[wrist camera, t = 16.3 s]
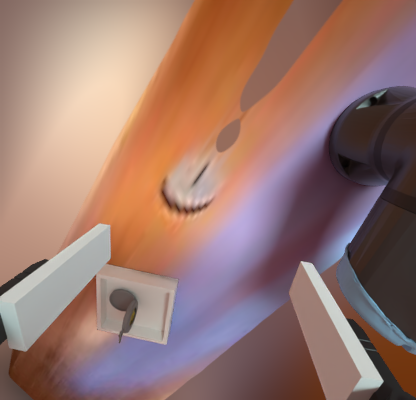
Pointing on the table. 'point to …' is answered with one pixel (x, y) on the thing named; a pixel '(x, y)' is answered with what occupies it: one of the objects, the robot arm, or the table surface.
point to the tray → (147, 302)
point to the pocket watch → (125, 308)
